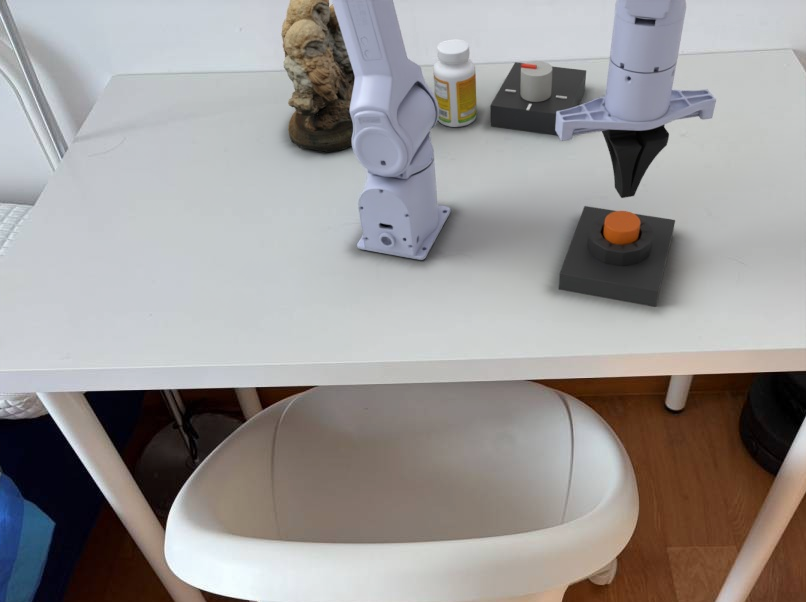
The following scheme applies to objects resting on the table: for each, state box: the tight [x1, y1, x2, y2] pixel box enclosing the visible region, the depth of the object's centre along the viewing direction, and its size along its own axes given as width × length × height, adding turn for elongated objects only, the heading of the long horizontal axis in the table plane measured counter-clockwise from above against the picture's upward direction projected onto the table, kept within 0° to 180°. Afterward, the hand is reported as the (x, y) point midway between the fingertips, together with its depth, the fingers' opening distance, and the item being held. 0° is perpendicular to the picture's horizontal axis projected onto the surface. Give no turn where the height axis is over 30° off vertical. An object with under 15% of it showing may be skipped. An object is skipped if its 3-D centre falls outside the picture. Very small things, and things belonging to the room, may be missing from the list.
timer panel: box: [489, 61, 587, 136], centre depth 105 cm, size 12×10×3 cm
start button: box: [603, 210, 640, 245], centre depth 81 cm, size 4×4×2 cm
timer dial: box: [520, 60, 552, 102], centre depth 101 cm, size 4×4×4 cm
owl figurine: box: [280, 0, 355, 153], centre depth 99 cm, size 18×12×17 cm, turn 161°
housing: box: [558, 205, 676, 308], centre depth 83 cm, size 12×10×4 cm
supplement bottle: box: [432, 38, 478, 128], centre depth 102 cm, size 5×5×10 cm
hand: (624, 191), depth 78 cm, fingers closed
